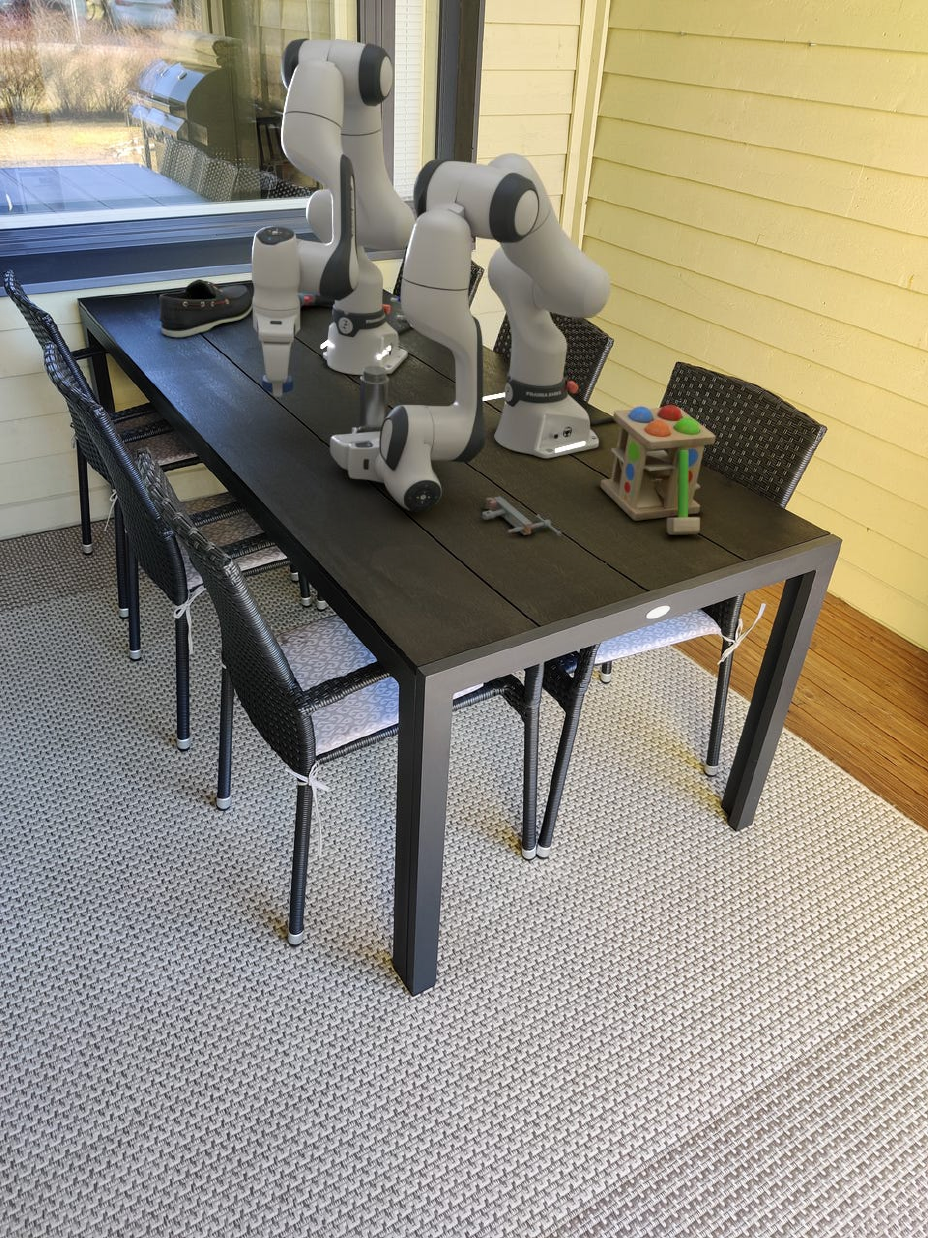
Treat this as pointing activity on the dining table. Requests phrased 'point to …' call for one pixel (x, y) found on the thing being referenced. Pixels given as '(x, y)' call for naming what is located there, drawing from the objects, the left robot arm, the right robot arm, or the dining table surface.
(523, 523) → the clamp
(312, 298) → the power drill
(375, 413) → the dark grey bottle
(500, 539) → the dining table surface
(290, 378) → the lid
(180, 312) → the boat shoe
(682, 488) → the pounding bench toy
